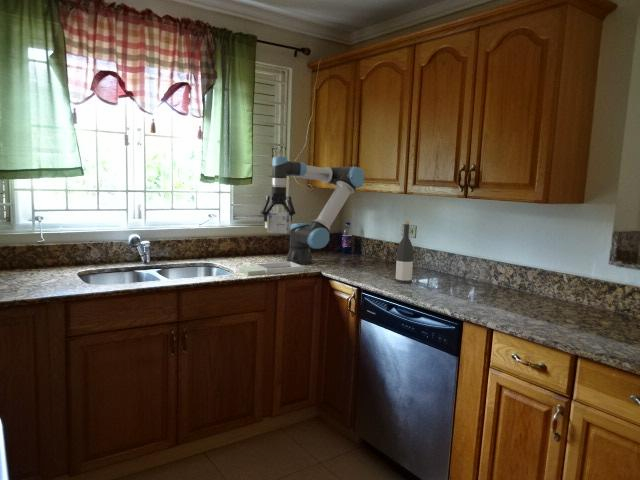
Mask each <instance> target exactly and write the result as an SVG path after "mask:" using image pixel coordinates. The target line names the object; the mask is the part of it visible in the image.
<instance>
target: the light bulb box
mask: <svg viewBox="0 0 640 480" xmlns="http://www.w3.org/2000/svg"><path fill="white" fill-rule="evenodd" d="M268 216H269V226H268V228H266V233H270V234H288V233H289V228H288V227H289V212H287V211H285V212H284V211H283V212H282V211H270V212H269V213H268Z"/></svg>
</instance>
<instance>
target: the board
mask: <svg viewBox="0 0 640 480" xmlns="http://www.w3.org/2000/svg"><path fill="white" fill-rule="evenodd" d="M238 272H240V273H243V274H244V275H246V276H260V275H265V270H263V269H260V268H258V267H256V266H254V265H252V266H240V267H239V266H238Z"/></svg>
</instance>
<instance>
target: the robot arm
mask: <svg viewBox="0 0 640 480" xmlns="http://www.w3.org/2000/svg"><path fill="white" fill-rule="evenodd" d="M271 164H272V165H271V168H272V170H271V186H272V187H271V196H269V195H266V196H265V200H264V203H263V205H262V208H261V210H260V212H259V213H260V214H261V215H262V216H263V222H264V228H265V229H267V228H268V226H269V216H268V213H269V212H272V209H273V208H274V206H276V205H281V206H282V207H283V208H284V210H285V212H289V227H288V229H289V251H288V253H287V256H286V262H293V263H296V264H299V265H302V266H305V265H311V264H313V261H314V260H313V256H312V253H311V249H317V250H318V249H323V248H325V247H326V246H327V245H328V243H329V242H330V232H331V228H330V227H331V226H332V224H333V222H334V220H336V218H337V217H338V214H339V212H340V211H341V209H342V208H343V207H344V205H345V203H346V201H347V200H348V198H349V196H350V195H351V194H354V193H355V191H356V190H357V188H358V189H360V188H361V187H362V186H364V184H365V182H364V175H365V173H364V170H363V169H362V168H361V167H358V166H332V167H331V166H327V167H321V166H319V167H318V166H315V165H307V164H306V163H305V162H303V161H291V160H288V157H286V156H279V155H278V156H277V155H276V156H274V157H273V158H272V163H271ZM287 177H292V178H300V179H305V180H313V181H314V180H315V181H321V182H323V183H325V184H329V185H334V186H336V187H335V189H334V191H333V192H332V194H331V195H330V197H329V198H328V200H327V202H326V203H325V204H324V207H323V208H322V210H321V211H320V213H319V215H318V216H317V218H316V219H313V220H312V221H310V222H311V223H310V222H302V223H301V222H298V223H291V222H292V221H293V216H294V215H296V210H295V208H294V205H293V202H292V196H290V195H289V196H288V195H287V187H286V186H287ZM270 201H271V202H270ZM286 201H287V202H286Z"/></svg>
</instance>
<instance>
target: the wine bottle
mask: <svg viewBox="0 0 640 480" xmlns="http://www.w3.org/2000/svg"><path fill="white" fill-rule="evenodd" d="M409 234H410V221H409V220H404V224H403V237H402V239H401V241H400V242H399V244H398V246H397V248H396V249H397V250H396V264H395V282H396V283H398V284H405V285H406V284H412V282H413V268H414V267H413V266H414V265H413V264H414V248H413V244H412V241H411V239H410V235H409Z"/></svg>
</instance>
